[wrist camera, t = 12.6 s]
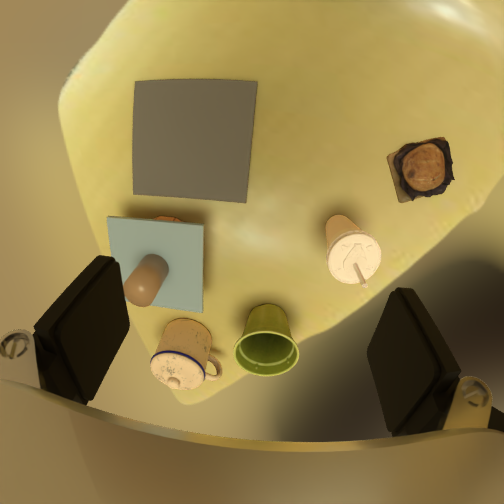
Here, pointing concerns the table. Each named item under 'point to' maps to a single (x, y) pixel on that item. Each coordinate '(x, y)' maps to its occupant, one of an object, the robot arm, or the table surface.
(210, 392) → the table surface
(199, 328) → the teacup with lid
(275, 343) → the plant pot
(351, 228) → the smoothie
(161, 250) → the cover sheet
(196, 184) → the mat
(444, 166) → the bread roll
